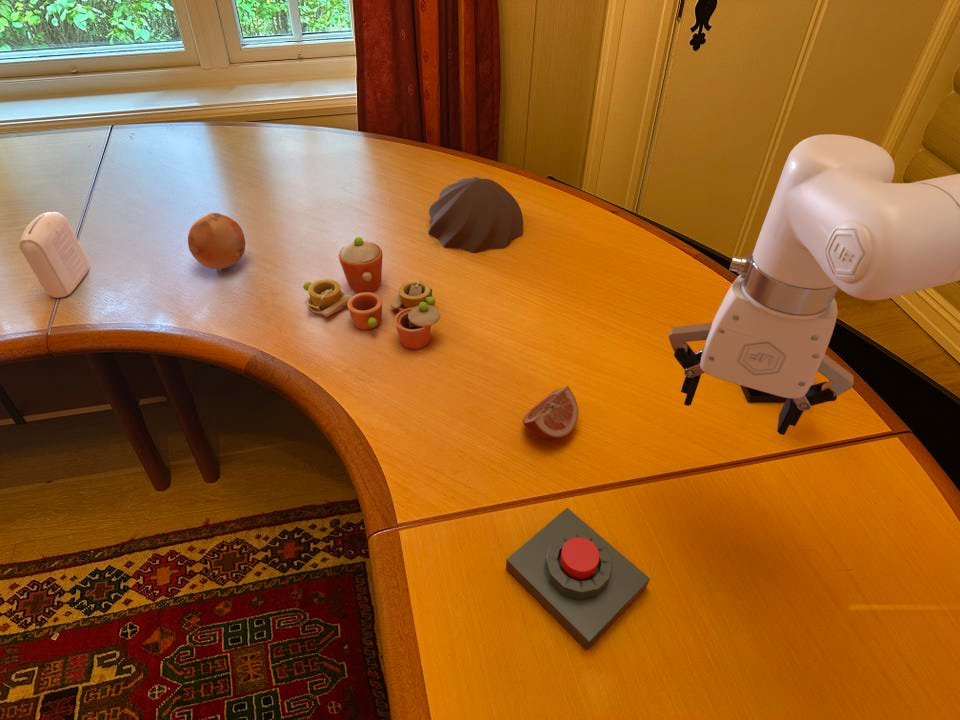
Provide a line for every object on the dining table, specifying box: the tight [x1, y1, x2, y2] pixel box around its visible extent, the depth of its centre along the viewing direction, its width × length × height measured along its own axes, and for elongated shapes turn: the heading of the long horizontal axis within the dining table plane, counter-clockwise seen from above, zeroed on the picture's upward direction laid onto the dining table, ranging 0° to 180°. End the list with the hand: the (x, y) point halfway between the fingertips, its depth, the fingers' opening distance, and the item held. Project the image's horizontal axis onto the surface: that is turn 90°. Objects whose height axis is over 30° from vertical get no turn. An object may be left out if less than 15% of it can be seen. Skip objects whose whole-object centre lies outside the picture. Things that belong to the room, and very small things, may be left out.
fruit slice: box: [522, 385, 579, 440], centre depth 82 cm, size 8×7×5 cm
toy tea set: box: [302, 236, 441, 350], centre depth 99 cm, size 26×16×10 cm, turn 59°
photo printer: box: [18, 211, 91, 299], centre depth 104 cm, size 10×4×12 cm, turn 4°
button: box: [560, 537, 600, 579], centre depth 64 cm, size 4×4×2 cm
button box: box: [505, 507, 651, 651], centre depth 66 cm, size 12×10×4 cm
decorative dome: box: [427, 176, 524, 254], centre depth 119 cm, size 19×20×10 cm
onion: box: [187, 212, 246, 270], centre depth 109 cm, size 10×10×10 cm
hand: (734, 410), depth 65 cm, fingers open, 9 cm apart
